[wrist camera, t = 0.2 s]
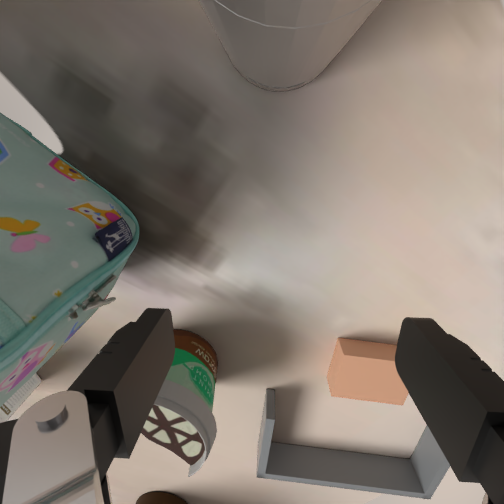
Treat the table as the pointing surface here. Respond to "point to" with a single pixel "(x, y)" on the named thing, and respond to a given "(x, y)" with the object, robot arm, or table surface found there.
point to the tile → (365, 372)
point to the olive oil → (159, 498)
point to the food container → (186, 402)
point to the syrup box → (18, 398)
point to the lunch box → (51, 252)
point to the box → (350, 464)
